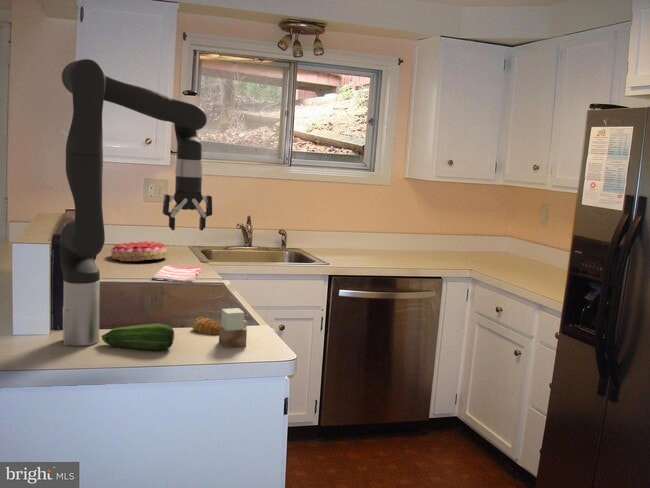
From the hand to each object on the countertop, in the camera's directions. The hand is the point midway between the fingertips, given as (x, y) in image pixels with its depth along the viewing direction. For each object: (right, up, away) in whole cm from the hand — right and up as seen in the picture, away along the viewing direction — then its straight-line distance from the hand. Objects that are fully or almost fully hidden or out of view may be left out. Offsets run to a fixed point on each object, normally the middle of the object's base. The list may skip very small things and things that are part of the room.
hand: (187, 229), depth 196 cm
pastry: (+5, -31, +4) cm, 31 cm away
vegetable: (-10, -33, -16) cm, 38 cm away
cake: (-45, -12, +111) cm, 120 cm away
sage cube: (+15, -28, -9) cm, 33 cm away
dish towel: (-20, -18, +79) cm, 84 cm away
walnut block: (+15, -33, -8) cm, 37 cm away
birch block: (+14, -31, +1) cm, 34 cm away
